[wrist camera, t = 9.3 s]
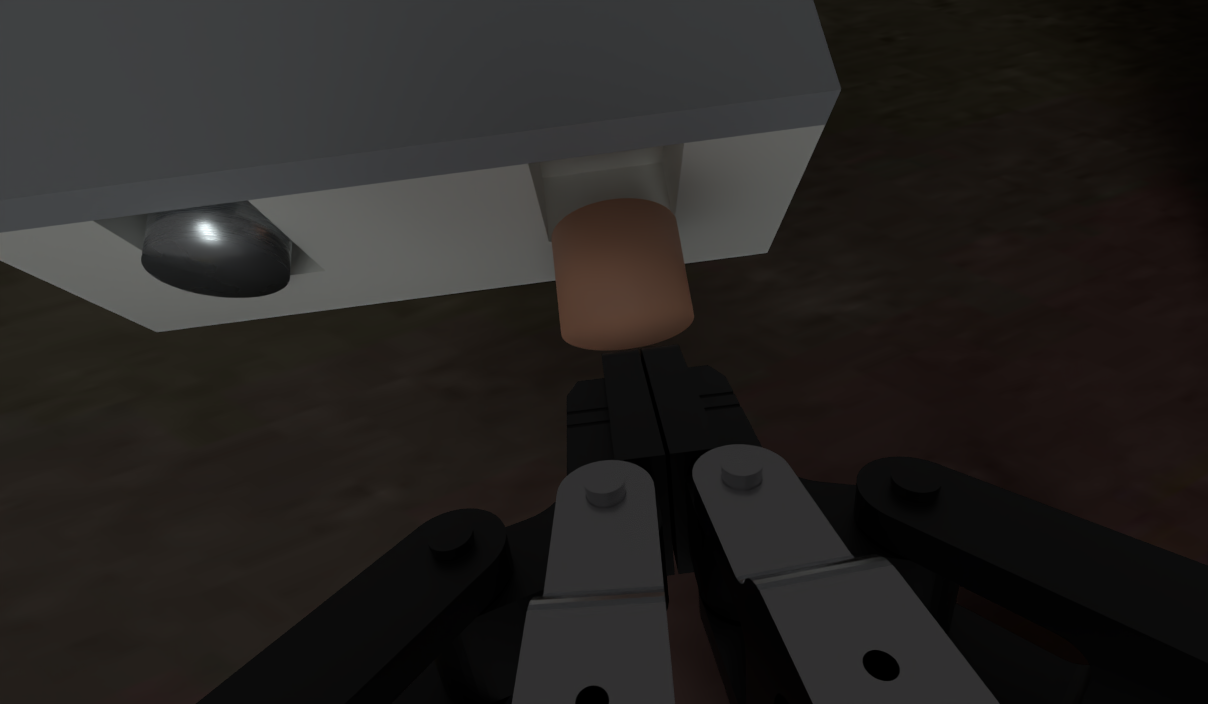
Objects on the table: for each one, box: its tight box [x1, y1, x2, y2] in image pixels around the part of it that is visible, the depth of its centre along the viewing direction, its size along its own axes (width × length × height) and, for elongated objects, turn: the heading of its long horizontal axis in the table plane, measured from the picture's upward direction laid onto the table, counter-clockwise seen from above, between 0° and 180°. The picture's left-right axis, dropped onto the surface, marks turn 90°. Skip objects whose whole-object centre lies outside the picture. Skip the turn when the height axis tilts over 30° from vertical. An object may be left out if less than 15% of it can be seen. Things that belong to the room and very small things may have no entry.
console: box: [0, 0, 841, 332], centre depth 24 cm, size 10×28×10 cm, turn 97°
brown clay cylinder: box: [551, 198, 694, 350], centre depth 20 cm, size 4×4×4 cm
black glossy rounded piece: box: [141, 200, 292, 298], centre depth 21 cm, size 4×4×4 cm
